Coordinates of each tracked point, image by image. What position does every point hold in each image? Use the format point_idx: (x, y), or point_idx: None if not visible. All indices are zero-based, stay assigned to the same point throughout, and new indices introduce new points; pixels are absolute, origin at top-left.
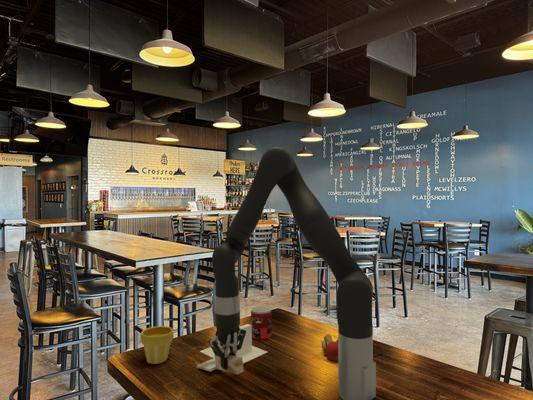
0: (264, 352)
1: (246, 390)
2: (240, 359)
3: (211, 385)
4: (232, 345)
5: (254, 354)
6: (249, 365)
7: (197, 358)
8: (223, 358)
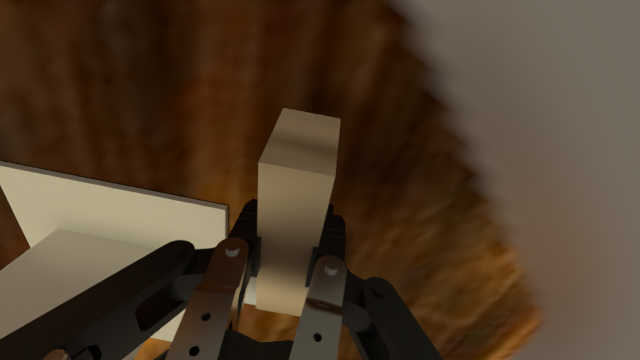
0: (10, 174)
1: (351, 24)
2: (283, 159)
3: (395, 204)
4: (236, 309)
5: (67, 201)
6: (148, 168)
7: (259, 334)
8: (345, 264)
